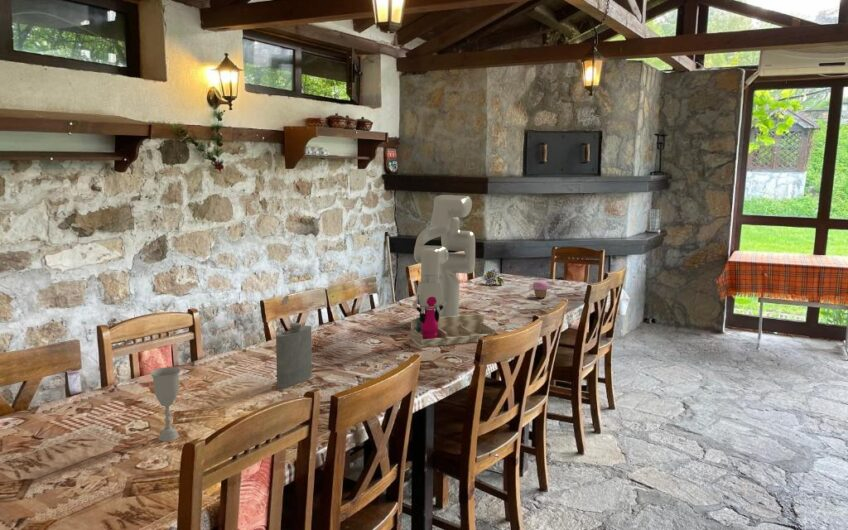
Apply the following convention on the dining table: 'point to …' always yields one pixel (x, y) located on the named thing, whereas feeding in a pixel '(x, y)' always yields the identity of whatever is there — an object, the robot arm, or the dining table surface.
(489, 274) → the passion flower
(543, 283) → the cupcake
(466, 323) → the rack
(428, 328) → the pepper mill
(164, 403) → the chalice
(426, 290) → the robot arm
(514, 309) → the dining table surface
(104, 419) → the dining table surface
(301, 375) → the hip flask
